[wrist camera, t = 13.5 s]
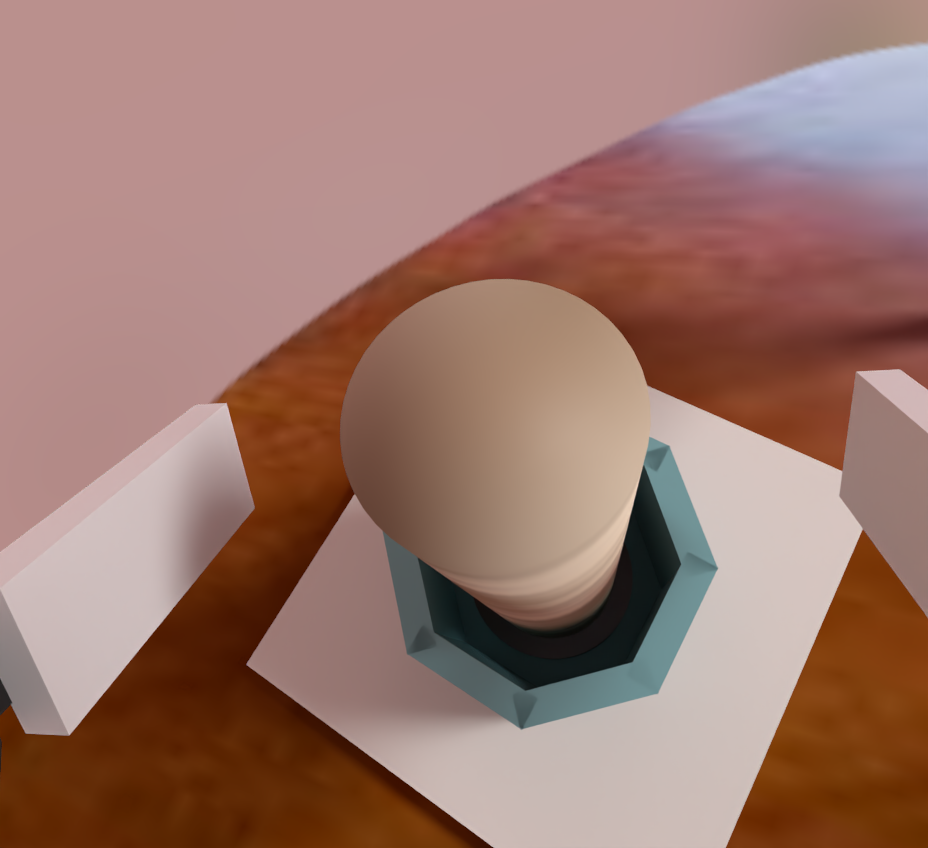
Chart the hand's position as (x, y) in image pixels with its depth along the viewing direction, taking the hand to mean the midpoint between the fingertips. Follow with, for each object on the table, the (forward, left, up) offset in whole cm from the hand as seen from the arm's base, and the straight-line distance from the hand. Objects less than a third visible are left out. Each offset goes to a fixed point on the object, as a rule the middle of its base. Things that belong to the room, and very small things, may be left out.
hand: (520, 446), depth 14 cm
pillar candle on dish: (-1, +1, -9) cm, 9 cm away
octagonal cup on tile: (-1, +1, -11) cm, 11 cm away
